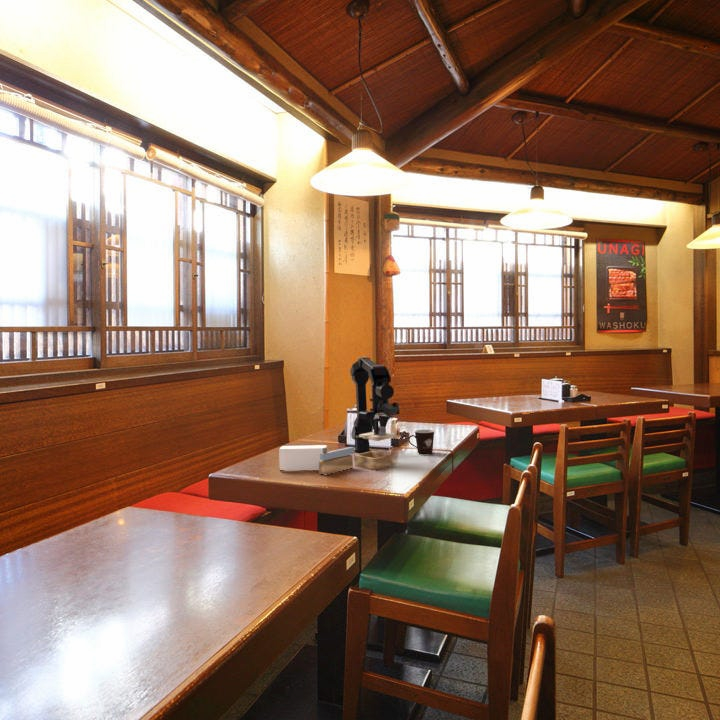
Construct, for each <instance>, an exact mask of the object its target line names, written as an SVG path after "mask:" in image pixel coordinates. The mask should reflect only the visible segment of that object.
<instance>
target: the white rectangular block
mask: <svg viewBox="0 0 720 720" xmlns="http://www.w3.org/2000/svg"><path fill="white" fill-rule="evenodd" d="M323 448H328V445H326V444H325V445H324V444H322V445H282V446H281V447H280V448H279V450H278V469H279V468H280V469H279V471H280V470H285V471H284V472H294V471H293V470H297V471H296V472H299V471H298V470H319V461H321V460H320V453H323ZM286 470H287V471H286Z"/></svg>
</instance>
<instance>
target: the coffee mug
mask: <svg viewBox="0 0 720 720" xmlns="http://www.w3.org/2000/svg"><path fill="white" fill-rule="evenodd" d="M412 437H414V438H415V441H416V442H415V443H416V445H415V444H413V443H412V442H411V441H410V440H411V438H412ZM407 438H408V439H407V441H408V443H409V444H410V445H411V446H413V447H415V448H416V449H417V450H416V451H417V454H418V453H419V454H418V455H420V454H431V455H432V454H433V452H434V451H433V449H434V439H435V430H433V429H416V430H414V434H411V435H409V436H408V437H407Z"/></svg>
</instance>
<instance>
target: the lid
mask: <svg viewBox="0 0 720 720" xmlns="http://www.w3.org/2000/svg"><path fill="white" fill-rule="evenodd" d="M386 427H387V426H386ZM386 427H381V426H380V425H378V434H375V432H374V431H373V432H369V433H364V434H359V437H363V438H364V439H369V441H370V440H371V441H377V442H379V441H383V440H384V441H385V440H388V439H389V440H390V439H391V438H393V437H396V436H395V433H390V432H387V430H386V429H387V428H386Z"/></svg>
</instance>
